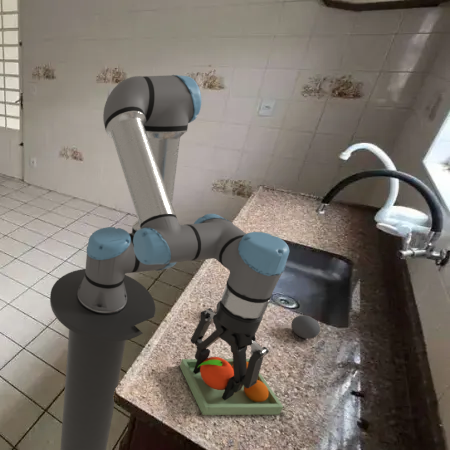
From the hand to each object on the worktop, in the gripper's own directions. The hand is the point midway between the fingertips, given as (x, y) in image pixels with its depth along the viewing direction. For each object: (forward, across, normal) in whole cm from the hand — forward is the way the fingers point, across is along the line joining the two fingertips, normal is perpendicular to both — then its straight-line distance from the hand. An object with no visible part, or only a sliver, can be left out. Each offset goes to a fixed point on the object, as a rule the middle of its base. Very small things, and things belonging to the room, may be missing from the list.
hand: (212, 383), depth 80 cm
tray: (+2, -2, -3) cm, 4 cm away
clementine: (+1, 0, 0) cm, 1 cm away
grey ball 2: (-1, 0, -36) cm, 36 cm away
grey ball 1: (-1, +14, -24) cm, 28 cm away
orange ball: (-1, -6, -6) cm, 9 cm away
